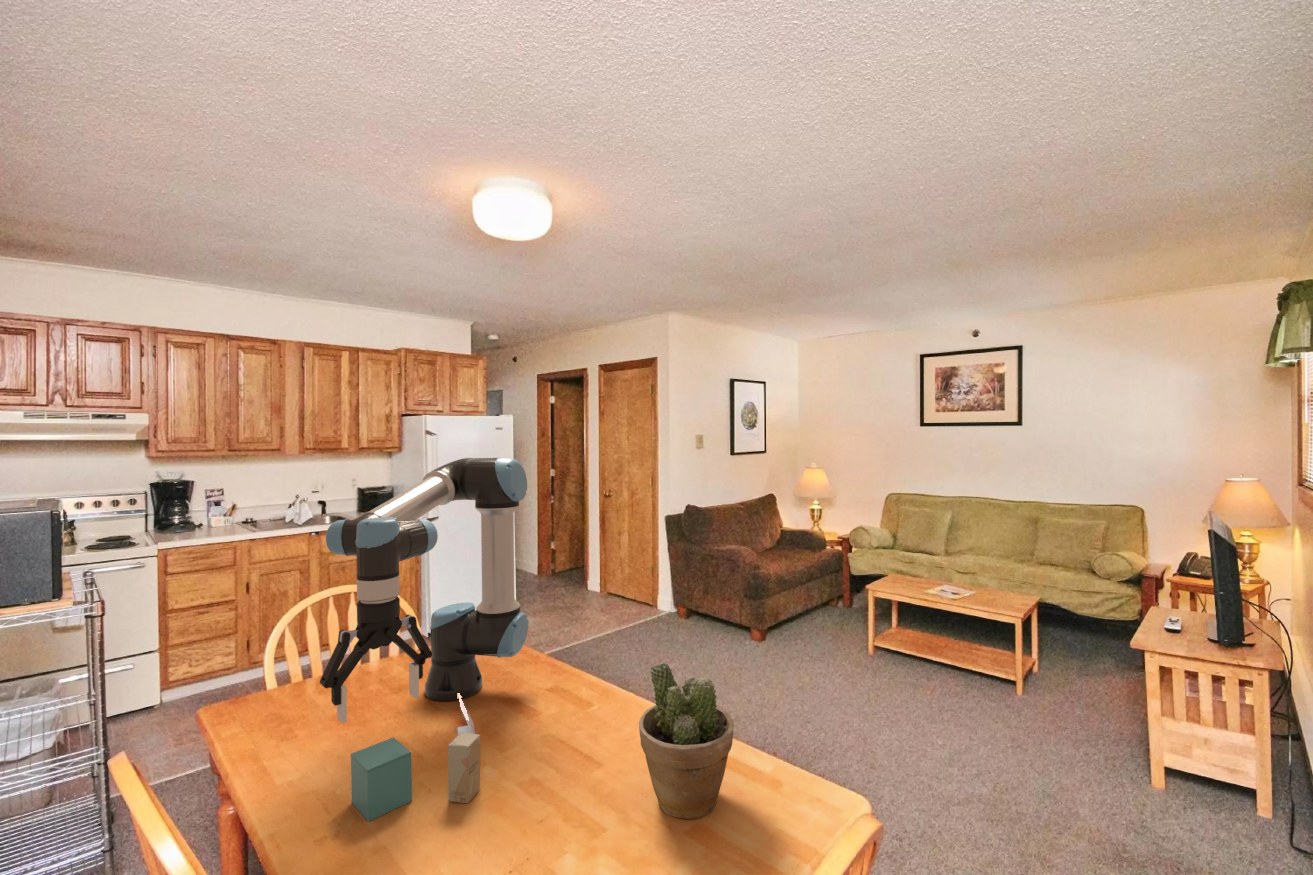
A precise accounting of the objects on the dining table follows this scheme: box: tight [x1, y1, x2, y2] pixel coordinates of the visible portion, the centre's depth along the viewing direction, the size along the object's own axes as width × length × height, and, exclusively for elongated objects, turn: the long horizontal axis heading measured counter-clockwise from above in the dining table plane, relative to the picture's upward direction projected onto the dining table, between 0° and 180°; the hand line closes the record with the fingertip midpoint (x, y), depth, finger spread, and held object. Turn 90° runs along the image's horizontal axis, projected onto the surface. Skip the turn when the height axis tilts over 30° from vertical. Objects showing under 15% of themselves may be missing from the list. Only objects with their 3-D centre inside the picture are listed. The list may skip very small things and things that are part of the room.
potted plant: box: [638, 661, 735, 820], centre depth 113 cm, size 18×19×25 cm
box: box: [447, 732, 481, 804], centre depth 115 cm, size 5×4×11 cm
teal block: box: [350, 737, 413, 823], centre depth 113 cm, size 8×8×10 cm
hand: (379, 707), depth 113 cm, fingers open, 13 cm apart
